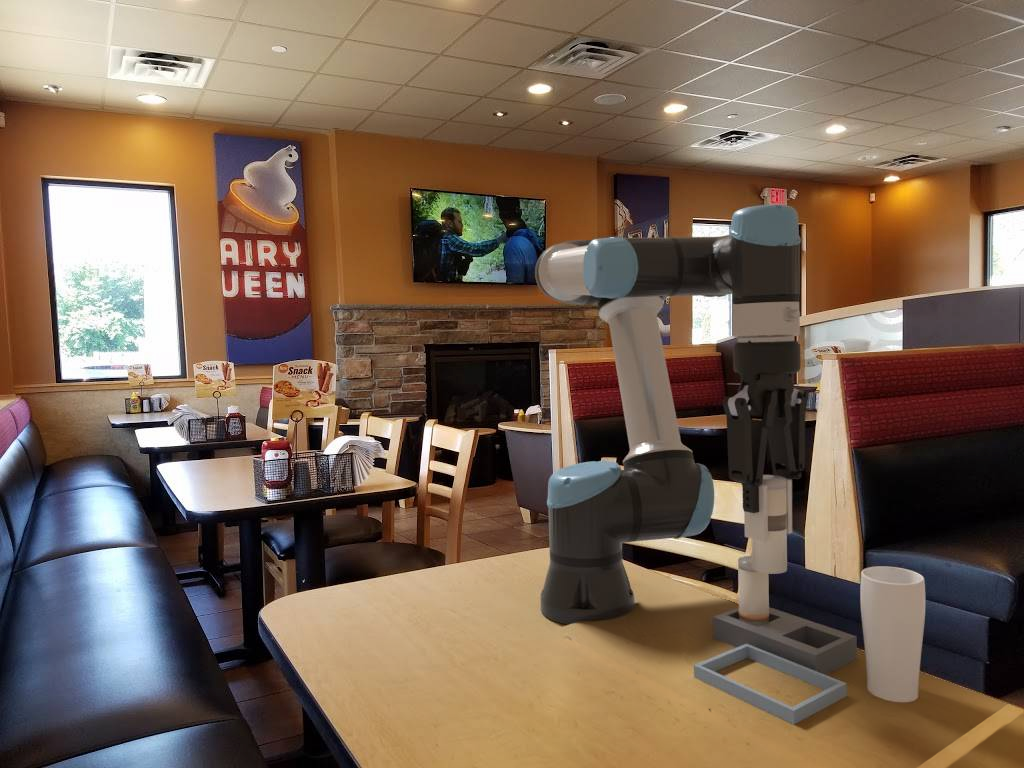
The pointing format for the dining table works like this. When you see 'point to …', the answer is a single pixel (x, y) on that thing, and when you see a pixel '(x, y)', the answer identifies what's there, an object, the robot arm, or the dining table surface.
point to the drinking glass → (892, 630)
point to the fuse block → (789, 639)
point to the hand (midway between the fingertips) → (768, 534)
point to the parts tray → (795, 714)
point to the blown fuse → (773, 530)
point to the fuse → (752, 593)
